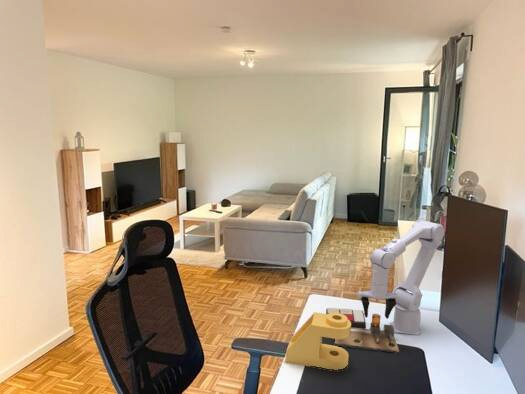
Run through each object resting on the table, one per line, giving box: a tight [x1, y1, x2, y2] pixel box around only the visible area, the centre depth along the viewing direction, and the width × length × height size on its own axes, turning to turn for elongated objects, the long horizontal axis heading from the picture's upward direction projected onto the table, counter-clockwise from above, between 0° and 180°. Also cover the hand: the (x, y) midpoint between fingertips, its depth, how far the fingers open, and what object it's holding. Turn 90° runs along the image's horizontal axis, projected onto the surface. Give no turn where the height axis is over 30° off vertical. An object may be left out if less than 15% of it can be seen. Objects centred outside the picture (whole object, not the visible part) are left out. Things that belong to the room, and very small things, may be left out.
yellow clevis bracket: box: [284, 311, 351, 370], centre depth 125 cm, size 20×9×16 cm, turn 76°
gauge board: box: [334, 323, 400, 353], centre depth 139 cm, size 22×13×5 cm, turn 81°
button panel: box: [325, 307, 367, 329], centre depth 152 cm, size 11×4×15 cm
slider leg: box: [369, 313, 382, 343], centre depth 138 cm, size 3×9×7 cm, turn 171°
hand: (376, 316), depth 140 cm, fingers open, 7 cm apart
